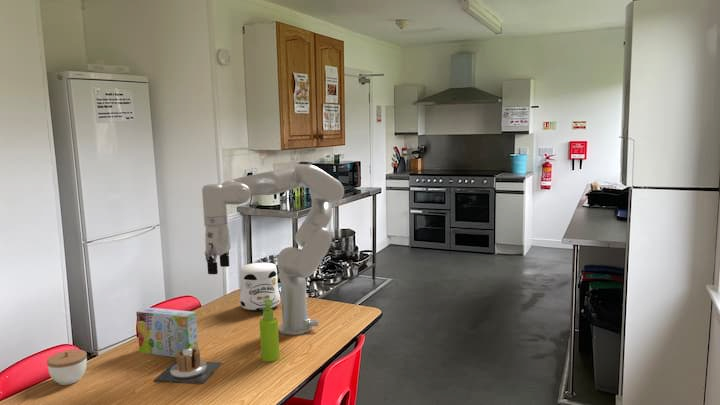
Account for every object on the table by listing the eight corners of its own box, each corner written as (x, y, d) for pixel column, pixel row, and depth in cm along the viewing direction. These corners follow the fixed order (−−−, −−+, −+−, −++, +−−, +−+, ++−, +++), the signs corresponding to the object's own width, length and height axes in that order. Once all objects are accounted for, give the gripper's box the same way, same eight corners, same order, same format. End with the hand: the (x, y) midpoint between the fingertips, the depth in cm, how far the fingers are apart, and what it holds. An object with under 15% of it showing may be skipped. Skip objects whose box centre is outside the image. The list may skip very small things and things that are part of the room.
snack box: (199, 353, 179) (196, 311, 177) (189, 360, 174) (186, 316, 172) (149, 346, 186) (146, 306, 184) (138, 353, 181) (134, 311, 178)
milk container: (261, 317, 212) (258, 274, 210) (231, 310, 222) (228, 269, 219) (289, 304, 227) (287, 264, 224) (260, 298, 236) (257, 260, 234)
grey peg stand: (222, 363, 170) (220, 341, 169) (202, 383, 157) (201, 359, 156) (176, 361, 173) (174, 339, 172) (153, 381, 159) (151, 357, 158)
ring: (204, 362, 167) (203, 347, 167) (194, 372, 161) (192, 357, 160) (184, 361, 169) (182, 347, 168) (172, 371, 162) (171, 356, 161)
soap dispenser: (265, 364, 169) (262, 305, 166) (259, 356, 175) (256, 299, 172) (282, 360, 171) (279, 301, 169) (276, 352, 177) (273, 296, 175)
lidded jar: (95, 371, 167) (92, 343, 166) (78, 388, 156) (74, 358, 155) (61, 373, 167) (58, 345, 165) (42, 389, 156) (38, 359, 155)
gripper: (215, 225, 167) (218, 277, 169) (236, 216, 183) (239, 263, 186) (193, 225, 168) (197, 277, 170) (216, 216, 185) (219, 263, 187)
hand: (219, 270), depth 178 cm, fingers open, 9 cm apart
